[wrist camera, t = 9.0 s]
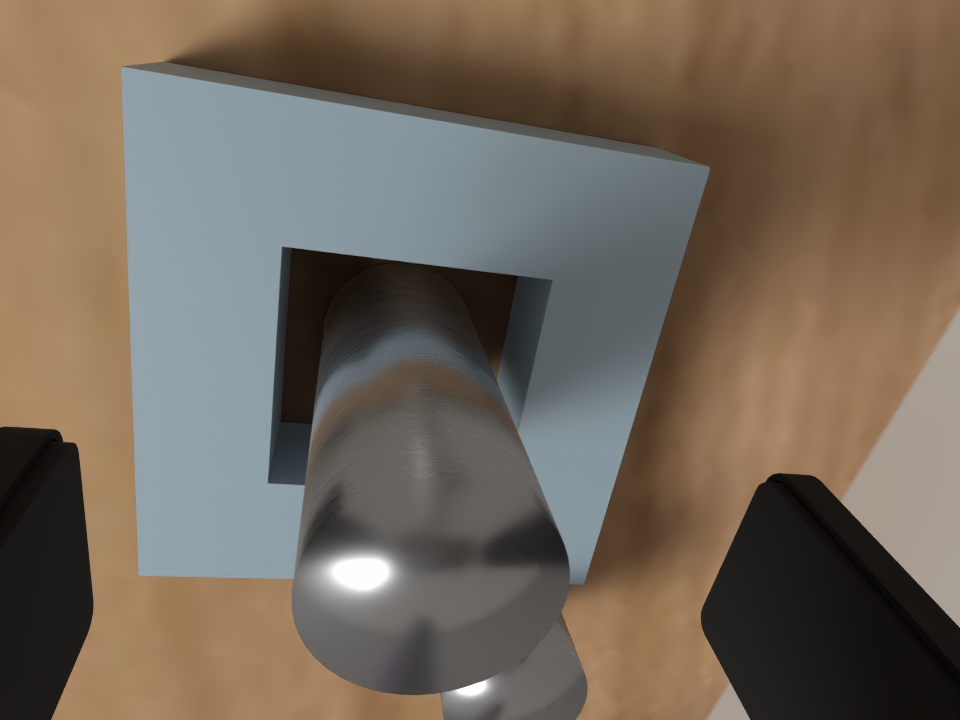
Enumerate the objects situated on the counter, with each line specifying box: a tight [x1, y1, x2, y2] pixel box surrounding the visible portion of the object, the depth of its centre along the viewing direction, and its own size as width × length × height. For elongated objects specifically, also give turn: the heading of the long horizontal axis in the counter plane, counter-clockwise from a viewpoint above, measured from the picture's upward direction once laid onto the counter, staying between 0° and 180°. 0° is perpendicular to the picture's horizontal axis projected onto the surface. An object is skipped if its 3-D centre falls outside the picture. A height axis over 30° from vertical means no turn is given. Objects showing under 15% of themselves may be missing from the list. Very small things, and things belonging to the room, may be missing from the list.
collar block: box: [121, 62, 711, 585], centre depth 17 cm, size 12×12×3 cm
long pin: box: [292, 262, 570, 695], centre depth 14 cm, size 4×4×10 cm
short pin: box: [440, 612, 587, 720], centre depth 21 cm, size 4×4×5 cm
